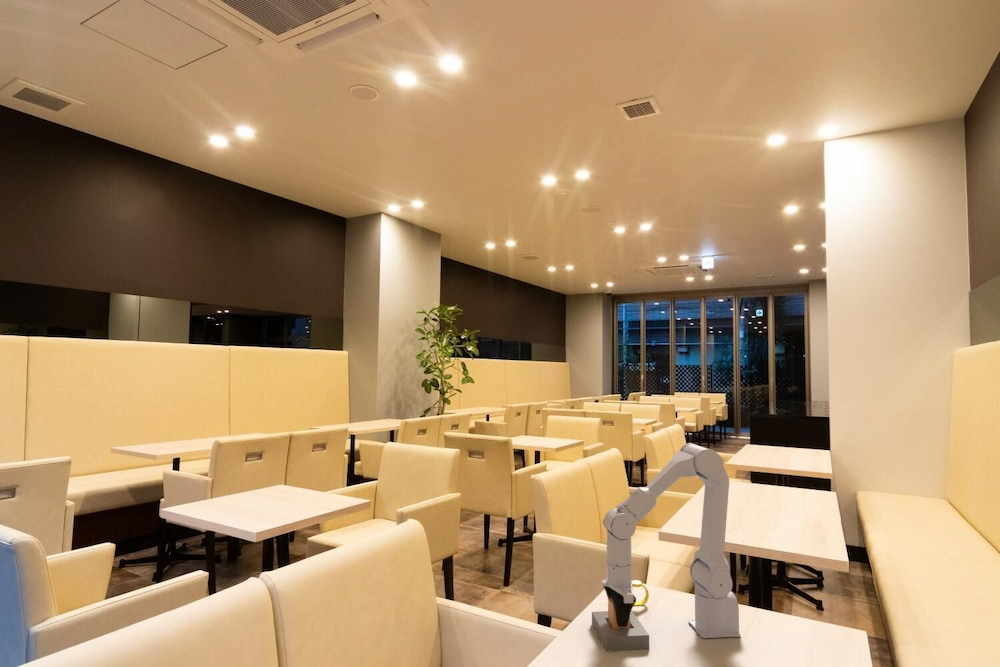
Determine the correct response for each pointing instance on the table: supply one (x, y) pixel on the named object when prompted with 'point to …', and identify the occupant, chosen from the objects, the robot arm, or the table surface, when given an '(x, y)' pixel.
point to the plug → (614, 617)
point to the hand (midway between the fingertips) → (619, 621)
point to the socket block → (620, 633)
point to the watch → (639, 584)
